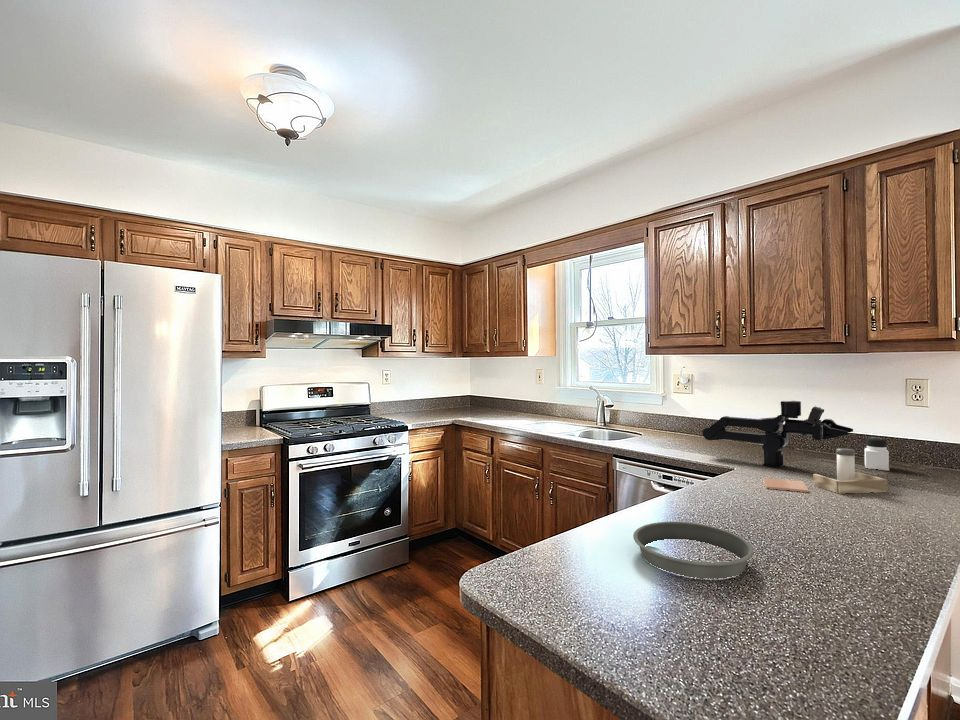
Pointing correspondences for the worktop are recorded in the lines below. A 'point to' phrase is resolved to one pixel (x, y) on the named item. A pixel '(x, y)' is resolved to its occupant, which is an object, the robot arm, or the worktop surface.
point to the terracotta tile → (785, 485)
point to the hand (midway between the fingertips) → (850, 431)
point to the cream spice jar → (845, 464)
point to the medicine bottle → (877, 454)
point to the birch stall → (852, 484)
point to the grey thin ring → (699, 534)
